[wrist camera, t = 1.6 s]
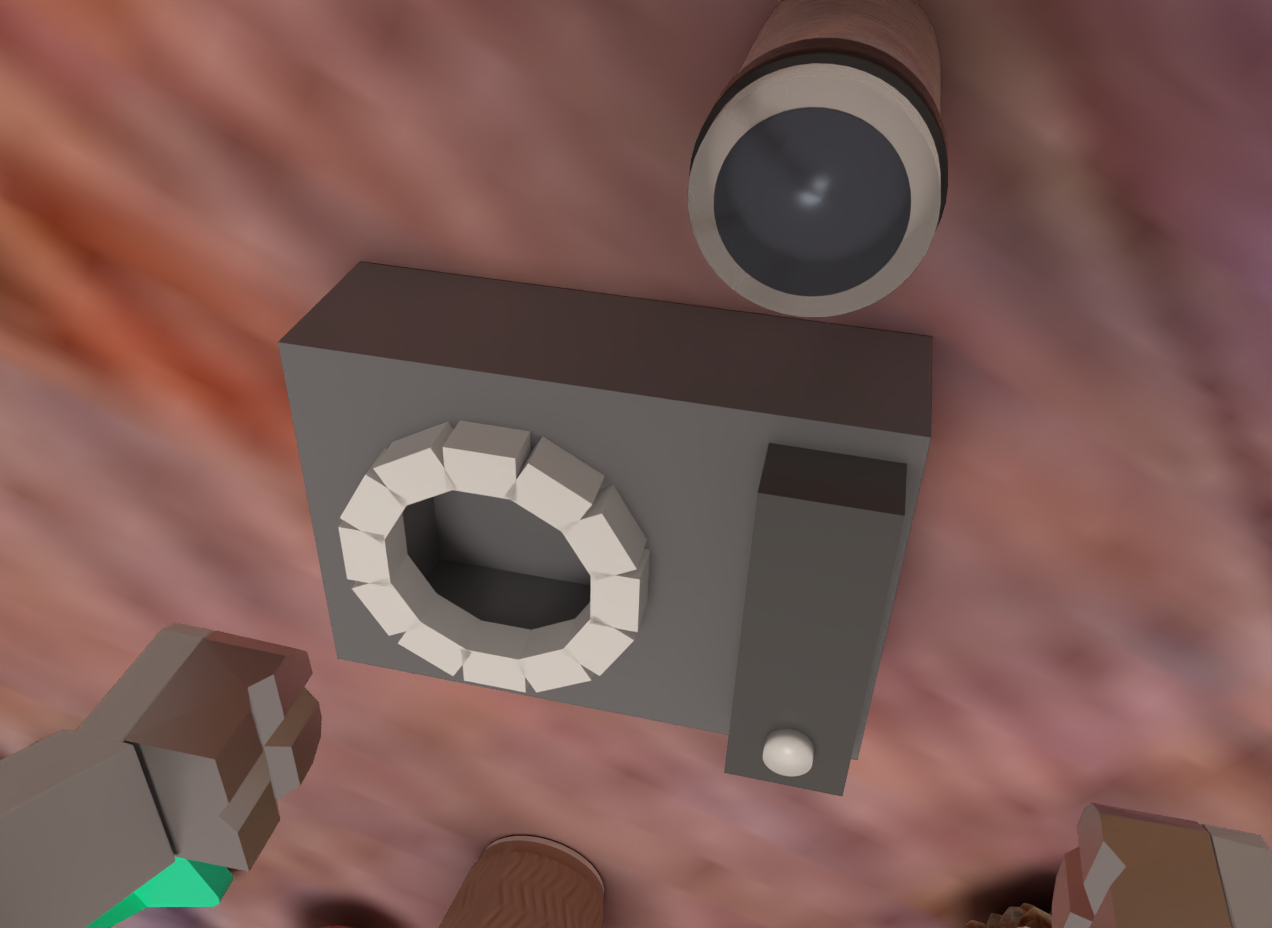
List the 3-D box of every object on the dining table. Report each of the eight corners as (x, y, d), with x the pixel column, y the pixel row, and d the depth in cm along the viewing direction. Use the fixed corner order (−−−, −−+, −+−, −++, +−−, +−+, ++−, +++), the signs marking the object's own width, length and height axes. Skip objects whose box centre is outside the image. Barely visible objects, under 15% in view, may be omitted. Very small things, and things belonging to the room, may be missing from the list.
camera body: (359, 261, 39) (226, 393, 31) (932, 336, 35) (930, 502, 28) (398, 559, 47) (300, 718, 40) (866, 643, 44) (852, 832, 36)
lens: (754, -40, 30) (687, 58, 22) (965, -24, 29) (974, 85, 21) (737, 160, 33) (673, 309, 25) (925, 180, 33) (920, 341, 24)
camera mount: (248, 867, 65) (149, 1036, 57) (153, 869, 68) (45, 1031, 60) (138, 729, 59) (9, 895, 51) (38, 738, 62) (-99, 897, 54)
